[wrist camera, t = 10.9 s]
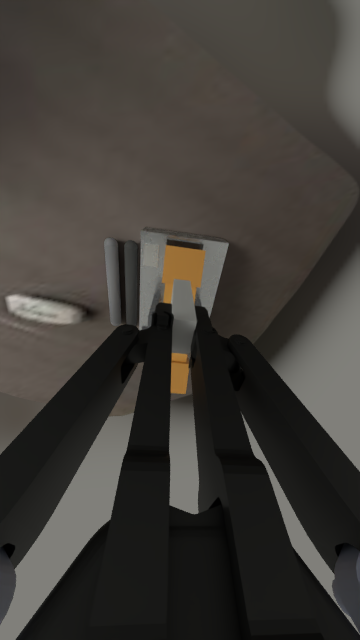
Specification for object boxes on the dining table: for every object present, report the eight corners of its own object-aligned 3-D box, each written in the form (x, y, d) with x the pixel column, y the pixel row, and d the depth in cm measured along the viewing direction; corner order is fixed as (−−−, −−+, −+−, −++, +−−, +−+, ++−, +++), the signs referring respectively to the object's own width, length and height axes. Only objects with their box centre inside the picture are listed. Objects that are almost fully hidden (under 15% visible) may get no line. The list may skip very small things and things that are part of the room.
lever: (166, 249, 24) (165, 245, 22) (202, 254, 25) (205, 250, 22) (152, 381, 28) (150, 391, 25) (184, 384, 28) (185, 394, 26)
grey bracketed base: (145, 227, 28) (128, 239, 19) (223, 238, 29) (243, 256, 19) (142, 332, 39) (130, 374, 29) (199, 338, 39) (204, 380, 30)
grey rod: (106, 235, 28) (101, 237, 27) (119, 237, 29) (115, 239, 27) (112, 321, 37) (109, 327, 35) (122, 322, 37) (120, 328, 36)
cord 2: (125, 238, 29) (122, 240, 27) (138, 240, 29) (136, 242, 27) (127, 323, 37) (125, 329, 36) (137, 324, 37) (135, 330, 36)
